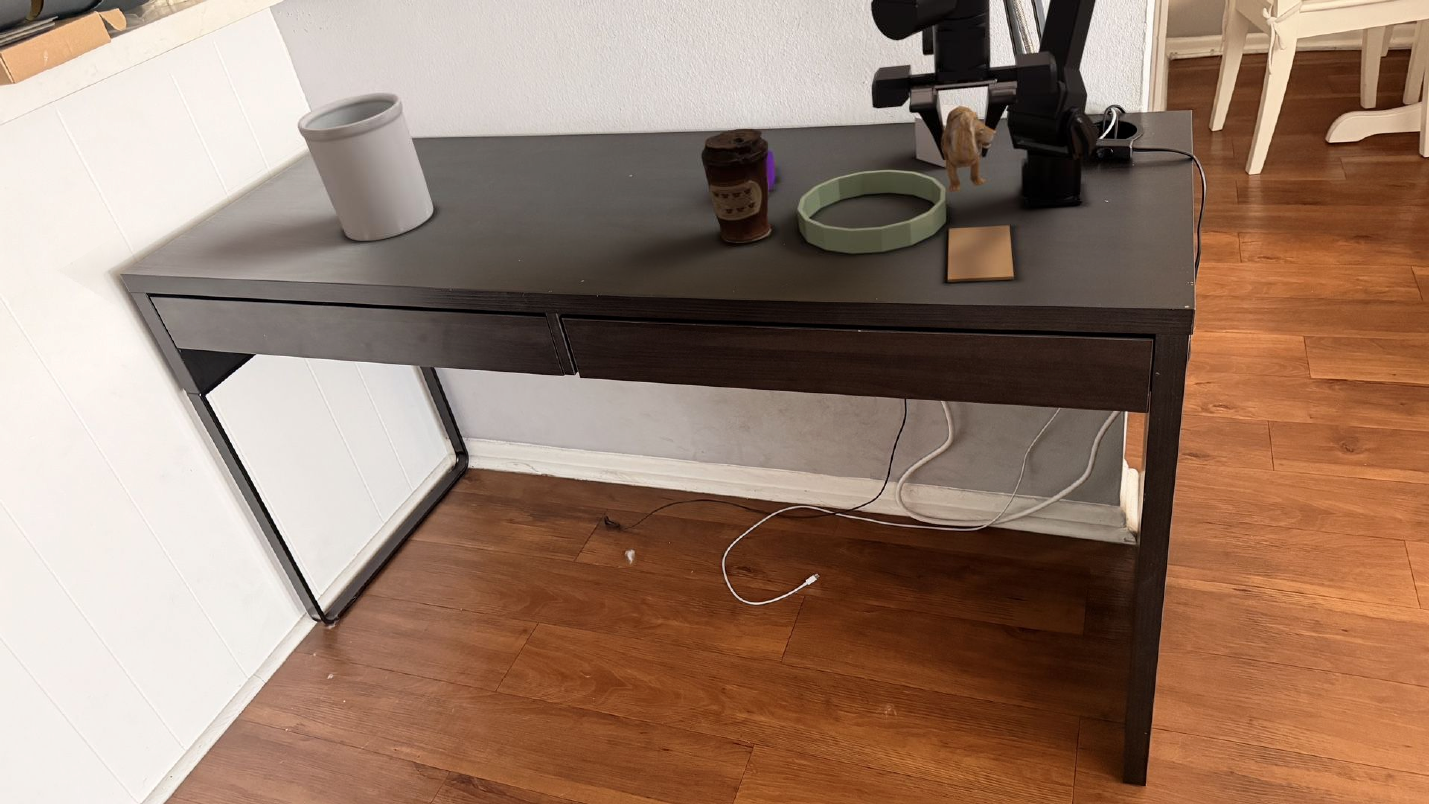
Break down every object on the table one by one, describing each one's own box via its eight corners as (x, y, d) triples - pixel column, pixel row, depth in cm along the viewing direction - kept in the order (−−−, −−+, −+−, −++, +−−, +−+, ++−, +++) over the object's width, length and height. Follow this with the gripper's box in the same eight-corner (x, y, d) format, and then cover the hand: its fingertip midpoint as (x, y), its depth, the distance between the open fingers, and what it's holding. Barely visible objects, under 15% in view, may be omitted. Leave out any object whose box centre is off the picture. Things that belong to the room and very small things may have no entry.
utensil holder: (372, 251, 147) (329, 133, 138) (322, 233, 157) (278, 121, 147) (455, 211, 155) (419, 97, 146) (403, 196, 165) (366, 88, 155)
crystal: (783, 136, 149) (761, 165, 137) (786, 169, 151) (765, 201, 139) (751, 138, 151) (727, 167, 138) (754, 171, 153) (731, 202, 140)
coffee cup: (773, 247, 128) (759, 147, 120) (708, 251, 130) (691, 153, 123) (783, 218, 134) (770, 122, 127) (721, 222, 137) (706, 127, 130)
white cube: (978, 154, 142) (978, 111, 139) (946, 168, 140) (945, 125, 137) (947, 145, 147) (946, 103, 144) (916, 158, 145) (914, 116, 141)
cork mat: (1009, 228, 122) (1009, 225, 122) (1013, 279, 112) (1013, 276, 111) (949, 231, 124) (949, 228, 124) (947, 282, 113) (947, 279, 113)
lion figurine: (1004, 195, 107) (996, 112, 103) (953, 206, 108) (942, 124, 103) (977, 146, 120) (969, 71, 115) (932, 156, 120) (921, 82, 116)
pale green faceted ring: (947, 187, 135) (946, 165, 133) (945, 248, 120) (944, 225, 119) (810, 196, 139) (807, 175, 138) (792, 256, 125) (789, 234, 123)
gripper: (1052, -19, 108) (1049, 124, 117) (875, 1, 113) (884, 137, 122) (1058, 9, 100) (1054, 161, 108) (866, 29, 104) (877, 174, 113)
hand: (964, 157), depth 113 cm, fingers closed on lion figurine, 4 cm apart
